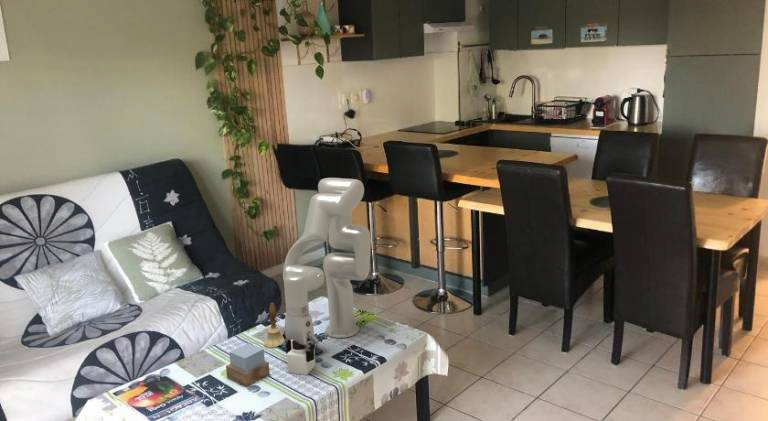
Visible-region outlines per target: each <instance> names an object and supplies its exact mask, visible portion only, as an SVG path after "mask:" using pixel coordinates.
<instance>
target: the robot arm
mask: <svg viewBox="0 0 768 421" xmlns="http://www.w3.org/2000/svg"><path fill="white" fill-rule="evenodd" d="M317 190H318V193H316V194H314V195H313V196H311V199H310V201H309V205H308V210H307V215H306V220H305V224H304V228H303V229H304V231H303V233H302V235H301V237H300V238H299V239H298V240H297V241H295V242H294V243H293V245H292V246H291V247H290V249H289V250H288V251H287V254H286V257H285V260H284V263H283V264H284V265H283V270H282V278H283V279H282V280H283V284H284V286H283V287H284V300H285V315H284V317H285V318H284V326H282V327H281V328H279V329H280V333H281V336H282V337H283V338H284V339H285V340H284V342H285V349H286V351H285V352H286V354H287V353H288V352H289V351H290V350H291V349H292V348H291V340H295V341H297V342H298V343H299V344H302V345H304V346H305V347H306V349H307V351H306V361H307V362H310V361H312V360H314V350H315V349H316V348H317V347H318V343H319V339H318V338H317V336H315V330H314V323H313V318H312V315H311V313H310V309H309V294H308V293H309V292H312V291H315V290H317V289H319V288H321V286H322V285H323V284H324V283H325V282H326V289H327V290H326V291H327V301H328V302H327V303H328V321H329V325H328V326H327V327H326V328H325V333H326V335H327V336H328V337H331V338H334V339H335V338H336V339H346V338H350V337H351V338H352V337H353V336H355V335H356V334H358V332H359V330H360V329H359V326H358V324H357V323H358V322H359V321H361V320H362V319H363V316H362V315H361V314H358V315H357V316H355V313H354V312H355V309H354V289H353V285H352V283H351V280H352V281H365V280H366V279H367V278H368V276H369V272H370V267H371V265H370V264H371V248H372V246H371V245H372V240H371V239H372V238H371V232H370V230H369V229H368V227H366V226H365V225H361V224H360V225H357V224H353V212H354V210H355V209H356V208H357V206H358V205H359V204H360V202H361V201H362V199H363V198H364V193H365V187H364V184H363V182H362V181H361V180H358V179H356V178H355V179H354V178H341V177H326V178H322V179H320V180H319V182H318V184H317ZM327 240H328V244H329V246H330V247H331V248H332V249H335V250H342V251H353V252H354V253H348V252H347V253H345V252H330V253H328V254H327V255H326V256H325V257H324V258H323V262H322V265H323V266H322V267H323V269H321V268H319V267H315V266H308V265H299V260H300V258H301V256H302V255H303V253H305V252H306V251H307V250H309V249H311V248H312V247H315V246H318V245H320V244H324V243H326V242H327ZM325 279H326V280H325ZM307 340H308V341H307ZM306 341H307V342H306ZM308 343H309V346H308Z"/></svg>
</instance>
